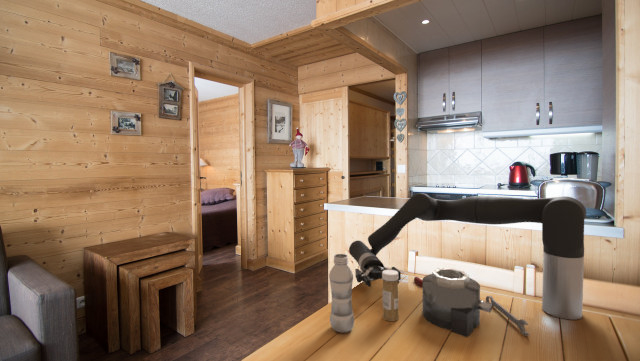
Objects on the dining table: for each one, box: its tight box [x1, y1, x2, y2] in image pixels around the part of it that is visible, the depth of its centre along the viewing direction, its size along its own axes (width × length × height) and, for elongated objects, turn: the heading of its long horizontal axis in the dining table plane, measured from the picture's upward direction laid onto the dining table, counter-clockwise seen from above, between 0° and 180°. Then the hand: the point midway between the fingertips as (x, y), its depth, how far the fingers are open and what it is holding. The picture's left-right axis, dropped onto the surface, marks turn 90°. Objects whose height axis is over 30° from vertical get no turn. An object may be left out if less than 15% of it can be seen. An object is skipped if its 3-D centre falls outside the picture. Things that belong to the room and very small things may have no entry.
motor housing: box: [422, 267, 493, 338], centre depth 89 cm, size 15×18×12 cm
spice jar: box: [381, 270, 400, 322], centre depth 91 cm, size 5×5×14 cm
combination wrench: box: [485, 295, 530, 337], centre depth 89 cm, size 4×1×20 cm
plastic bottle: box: [328, 253, 355, 333], centre depth 85 cm, size 6×7×20 cm
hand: (383, 282), depth 98 cm, fingers open, 8 cm apart
